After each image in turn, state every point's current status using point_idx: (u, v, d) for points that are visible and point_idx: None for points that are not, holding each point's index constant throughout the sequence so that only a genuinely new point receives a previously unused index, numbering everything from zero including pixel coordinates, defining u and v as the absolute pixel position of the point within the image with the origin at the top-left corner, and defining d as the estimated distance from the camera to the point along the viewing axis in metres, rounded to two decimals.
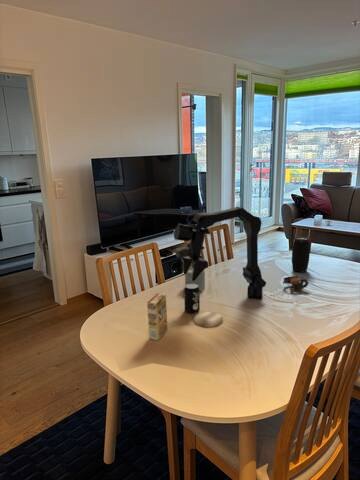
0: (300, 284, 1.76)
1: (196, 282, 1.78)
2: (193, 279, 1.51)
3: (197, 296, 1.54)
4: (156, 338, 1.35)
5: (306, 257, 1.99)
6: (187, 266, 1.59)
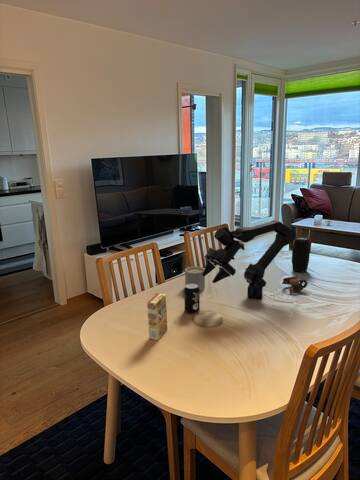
0: (299, 285, 1.75)
1: (196, 282, 1.78)
2: (214, 281, 1.54)
3: (197, 296, 1.54)
4: (156, 338, 1.35)
5: (306, 257, 1.99)
6: (208, 270, 1.63)
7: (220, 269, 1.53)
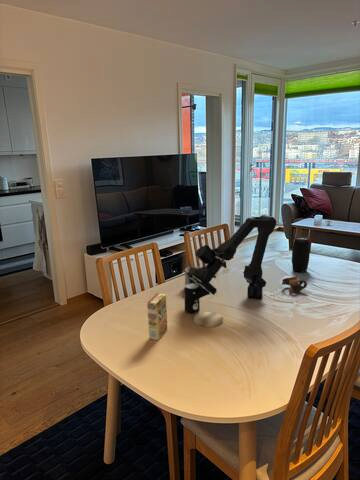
0: (299, 285, 1.74)
1: None
2: (193, 299, 1.53)
3: None
4: (156, 338, 1.35)
5: (306, 257, 1.99)
6: None
7: (199, 287, 1.51)
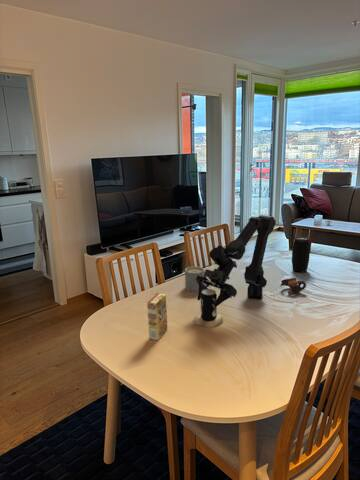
0: (298, 286, 1.73)
1: (196, 282, 1.78)
2: (215, 305, 1.43)
3: None
4: (156, 338, 1.35)
5: (306, 257, 1.99)
6: None
7: (222, 291, 1.43)
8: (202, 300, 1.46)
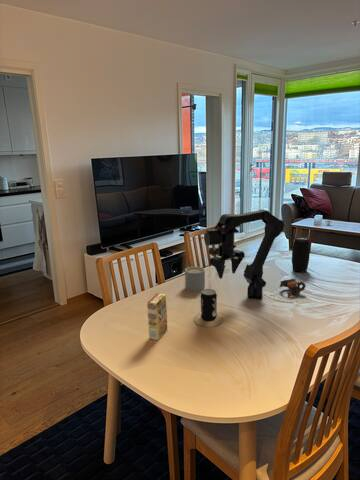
0: (297, 287, 1.72)
1: (196, 282, 1.78)
2: (219, 277, 1.60)
3: (216, 302, 1.46)
4: (156, 338, 1.35)
5: (306, 257, 1.99)
6: (234, 266, 1.65)
7: None
8: (202, 300, 1.46)
